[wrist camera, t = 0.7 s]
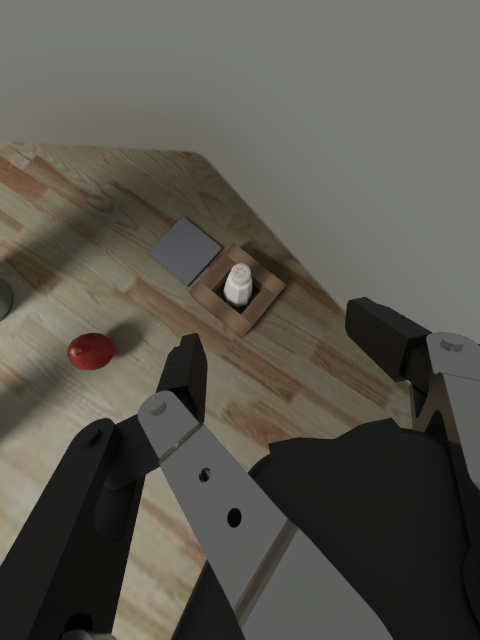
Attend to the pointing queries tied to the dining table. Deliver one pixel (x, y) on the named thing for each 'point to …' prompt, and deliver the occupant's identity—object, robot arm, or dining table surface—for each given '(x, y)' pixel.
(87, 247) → the dining table surface
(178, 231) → the rubber pad
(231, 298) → the pepper shaker
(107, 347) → the onion
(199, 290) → the socket block
